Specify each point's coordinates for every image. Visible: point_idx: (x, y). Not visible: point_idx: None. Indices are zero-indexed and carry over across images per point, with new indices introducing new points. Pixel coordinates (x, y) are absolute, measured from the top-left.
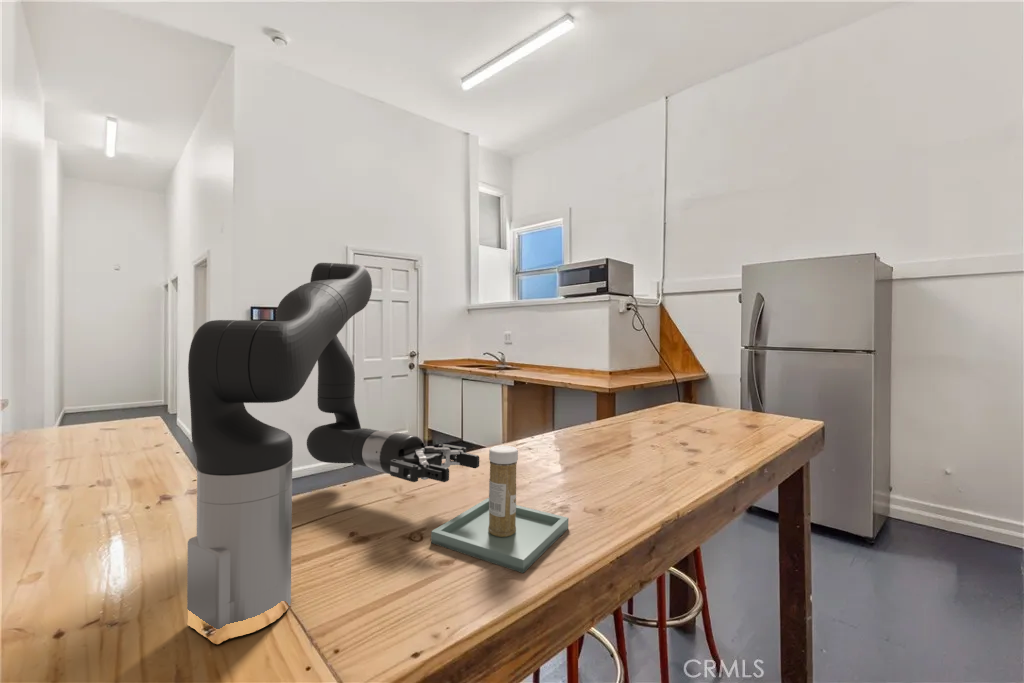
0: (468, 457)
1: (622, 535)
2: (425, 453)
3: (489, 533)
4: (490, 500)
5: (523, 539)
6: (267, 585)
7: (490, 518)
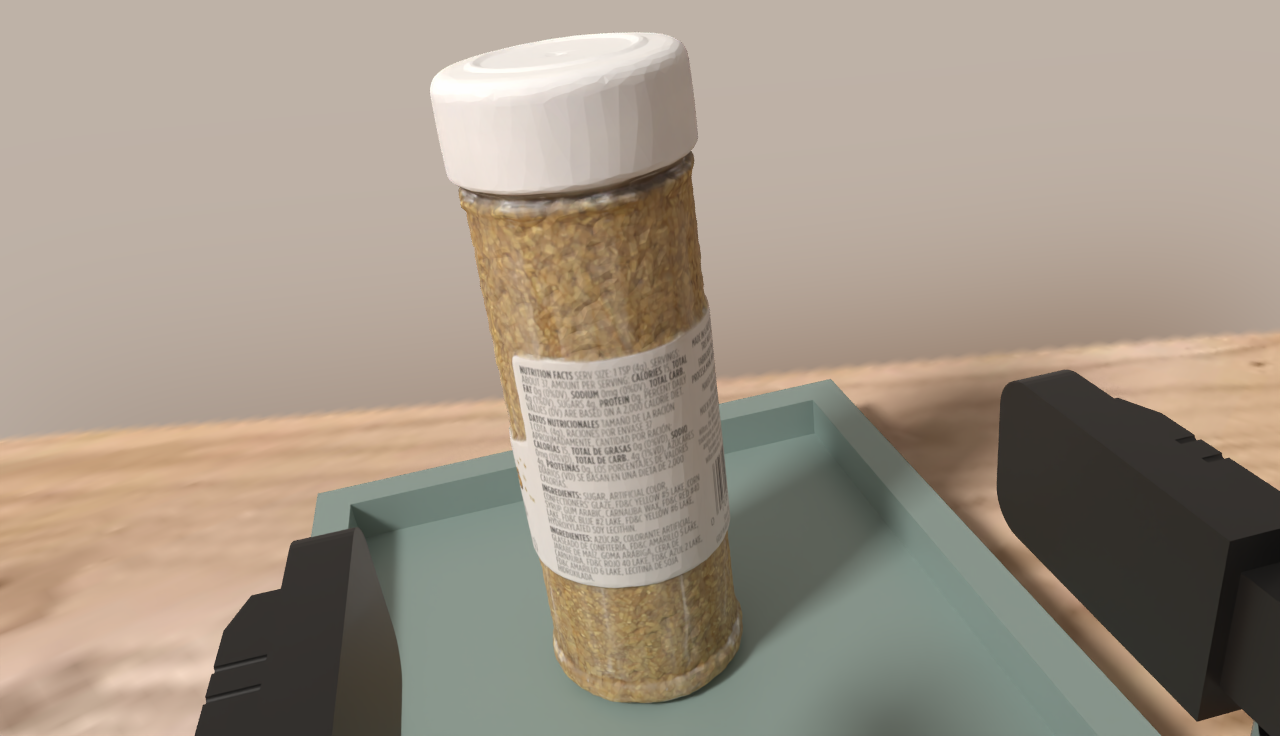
0: (355, 659)
1: (284, 430)
2: None
3: (733, 661)
4: (718, 453)
5: None
6: None
7: (724, 569)
